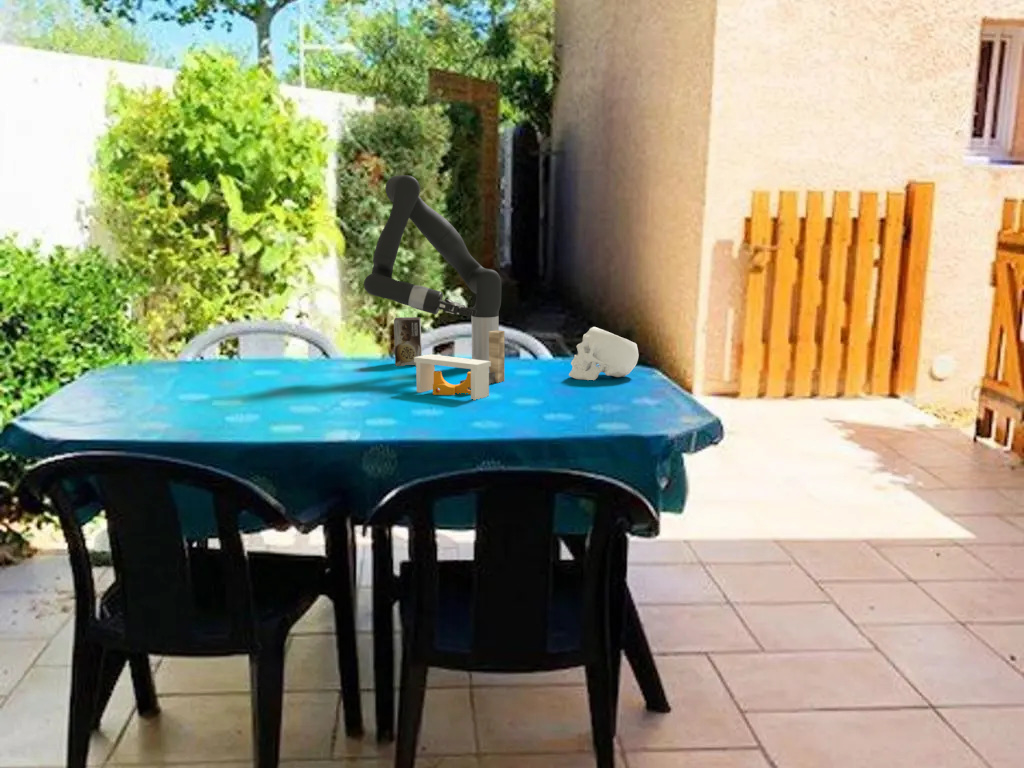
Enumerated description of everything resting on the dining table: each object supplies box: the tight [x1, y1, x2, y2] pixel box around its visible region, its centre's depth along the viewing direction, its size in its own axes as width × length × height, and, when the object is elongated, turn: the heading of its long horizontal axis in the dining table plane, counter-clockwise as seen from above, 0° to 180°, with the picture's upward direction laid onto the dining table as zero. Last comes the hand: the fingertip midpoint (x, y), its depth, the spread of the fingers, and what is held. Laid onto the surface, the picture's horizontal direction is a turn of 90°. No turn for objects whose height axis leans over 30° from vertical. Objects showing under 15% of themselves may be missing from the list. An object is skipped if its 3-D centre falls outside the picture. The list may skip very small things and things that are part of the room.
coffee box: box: [393, 316, 423, 367], centre depth 351 cm, size 9×6×16 cm
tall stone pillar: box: [459, 330, 505, 390], centre depth 314 cm, size 20×4×16 cm, turn 147°
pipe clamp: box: [432, 370, 471, 396], centre depth 304 cm, size 12×4×6 cm, turn 86°
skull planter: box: [568, 326, 639, 381], centre depth 328 cm, size 14×20×19 cm
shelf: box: [414, 353, 491, 401], centre depth 302 cm, size 7×23×10 cm, turn 57°
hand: (473, 313), depth 324 cm, fingers open, 8 cm apart
